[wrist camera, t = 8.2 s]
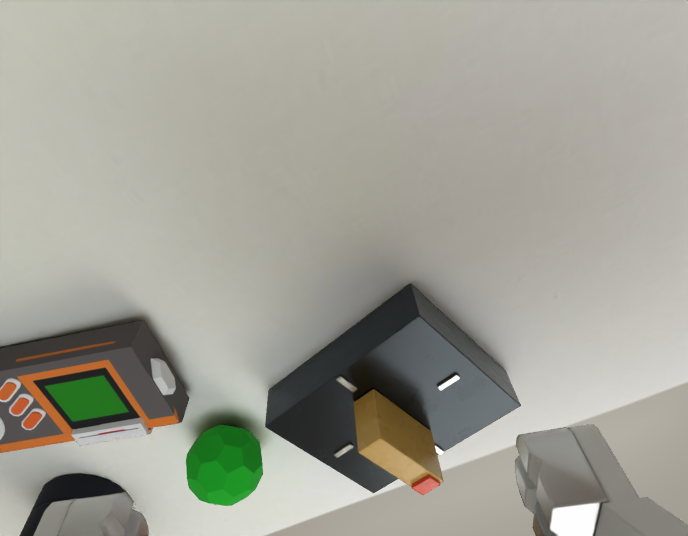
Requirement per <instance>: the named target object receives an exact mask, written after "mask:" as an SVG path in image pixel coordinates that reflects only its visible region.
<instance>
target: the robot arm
mask: <svg viewBox="0 0 688 536" xmlns="http://www.w3.org/2000/svg"><path fill="white" fill-rule="evenodd" d="M516 447H517V450H518V452H519V456H518V457H517V458H516V460H515V473H516V480H517V485H518V488H519V492H520V495H521V498H522V500H523V503H524V506H525V507H526V508H528V509H529V510H530V511H531V512H532V513H533V514H534V520H533V529H534V532H535V535H536V536H688V525H687V524H686V523H684V522H683V521H681V520H680V519H678V518H677V517H676V516H674V515H673V514H671V513H670V512H668V511H667V510H665V509H664V508H662V507H661V506H660V505H658V504H657V503H655V502H654V501H652V500H651V499H649V498H648V497H643V498H639V496H638V495H637V493H636V491H635V489H634V488H633V486H632V484H631V483H630V481H629V479H628V478H627V476H626V474H625V473H624V471H623V469H622V468H621V466H620V464H619V462H618V461H617V459H616V457H615V456H614V454H613V452H612V451H611V449H610V447H609V446H608V444H607V442H606V441H605V439H604V437H603V436H602V434H601V433H600V430H599V429H598V428H597V427H596V426H595V425H593V424H587V425H582V426H575V427H570V428H566V427H564V428H557V429H551V430H545V431H539V432H533V433H527V434H521V435H518V437H517V440H516ZM133 502H134V501H133V500H132V498H131V497H130V495H129V494H128V493H119V494H111V495H104V496H96V497H88V498H81V499H71V500H65V501H58V502H52V503H51V504H50V505H49V507H48V508H47V509H46V510H45V511H44V514H43V516H42V518H41V520H40V522H39V525H38V527H37V529H36V531H35V533H34V535H33V536H148V526H147V523H146V520H145V518H144V516H143V515H142V513H140V512H137V511H135V510H133V509H132V506H133Z"/></svg>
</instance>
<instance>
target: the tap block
mask: <svg viewBox="0 0 688 536" xmlns="http://www.w3.org/2000/svg"><path fill="white" fill-rule="evenodd" d="M372 389H375V390H376V391H377V392H379V393H380V394H381V395H383V396H384V397H385V398H387V399H388V400H390V401H391V402H392V403H394V404H395V405H396V406H398V407H399V408H400V409H402V410H403V411H404V412H406V413H407V414H408V415H410V416H411V417H412V418H414V419H415V420H417V421H418V422H419V423H421V424H422V425H423V426H425V427H426V428H427V429H429V430H430V431H431V432H432V436H433V440H434V444H435V448H436V452H437V455H439V454H440V455H441V454H442V453H444V451H446V450H447V449H449V448H451V447H452V446H454V445H456V444H457V443H459V442H461V441H462V440H464V439H466V438H468V437H469V436H471V435H473V434H474V433H476V432H478V431H479V430H481V429H483V428H484V427H486V426H488V425H489V424H491V423H493V422H494V421H496V420H498V419H500V418H501V417H503V416H505V415H506V414H508V413H510V412H511V411H513V410H515V409H516V408H518V407H520V406H521V404H520V402H519V400H518V398H517V395H516V393H515V391H514V389H513V386H512V384H511V382H510V380H509V377H508V375H507V373H506V371H505V370H504V369H503V368H502V367H501V366H500V365H499V364H497V363H496V362H495V361H494V360H493V359H492V358H491V357H490V356H489V355H488V354H487V353H486V352H484V351H483V350H482V349H481V348H480V347H479V346H478V345H477V344H476V343H475V342H474V341H473V340H471V339H470V338H469V337H468V336H467V335H466V334H465V333H464V332H463V331H462V330H461V329H459V328H458V327H457V326H456V325H455V324H454V323H453V322H452V321H451V320H450V319H449V318H448V317H446V316H445V315H444V314H443V313H442V312H441V311H440V310H439V309H438V308H437V307H436V306H435V305H433V304H432V303H431V302H430V301H429V300H428V299H427V298H426V297H425V296H424V295H423V294H421V293H420V292H419V291H418V290H417V289H416V288H415V287H414V286H413V285H412V284H409V285H407V286H406V287H405V288H403V289H402V290H401V291H399V292H398V293H397V294H395V295H394V296H393V297H392V298H390V299H389V300H388V301H386V302H385V303H384V304H382V305H381V306H380V307H378V308H377V309H376V310H374V311H373V312H372V313H370V314H369V315H368V316H366V317H365V318H364V319H362V320H361V321H360V322H358V323H357V324H356V325H354V326H353V327H352V328H350V329H349V330H348V331H347V332H345V333H344V334H343V335H341V336H340V337H339V338H337V339H336V340H335V341H333V342H332V343H331V344H329V345H328V346H327V347H325V348H324V349H323V350H321V351H320V352H319V353H317V354H316V355H315V356H313V357H312V358H311V359H309V360H308V361H307V362H305V363H304V364H303V365H302V366H300V367H299V368H298V369H296V370H295V371H294V372H292V373H291V374H290V375H288V376H287V377H286V378H284V379H283V380H282V381H280V382H279V383H278V384H276V385H275V386H274V387H272V388H271V389H270V390H269V391H268V402H267V413H266V424H265V427H266V428H268V429H269V430H271V431H273V432H274V433H276V434H277V435H279V436H281V437H282V438H284V439H286V440H287V441H289V442H291V443H292V444H294V445H296V446H297V447H299V448H300V449H302V450H304V451H305V452H307V453H309V454H310V455H312V456H314V457H315V458H317V459H318V460H320V461H322V462H323V463H325V464H327V465H328V466H330V467H332V468H333V469H335V470H336V471H338V472H340V473H341V474H343V475H345V476H346V477H348V478H350V479H351V480H353V481H354V482H356V483H358V484H359V485H361V486H363V487H364V488H366V489H368V490H369V491H371V492H372V493H375V492H377V491H378V490H380V489H382V488H383V487H385V486H387V485H388V484H390V483H392V482H393V481H395V480H397V479H398V478H397V477H395V476H394V475H392V474H391V473H389V472H388V471H386V470H385V469H383V468H381V467H380V466H378V465H377V464H375V463H374V462H372V461H371V460H369V459H368V458H366V457H364V456H363V455H361V454H360V453H359V452H358V445H357V434H356V423H355V412H354V402H355V401H356V400H358V399H359V398H361V397H362V396H364V395H365V394H367V393H368V392H370V391H371V390H372Z"/></svg>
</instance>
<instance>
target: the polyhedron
mask: <svg viewBox="0 0 688 536" xmlns="http://www.w3.org/2000/svg"><path fill="white" fill-rule="evenodd" d="M186 466H187V480H188V485H189V488H190V489H191V490H192V492H193V493H194V494H195V495H196V496H197V497H198V499H199V500H201V501H204V502H207V503H212V504H218V505H224V506H229V505H233V504H235V503H237V502H239V501H240V500H242V499H244V498H246V497H247V496H248V495H249V494H251V493H252V492H253V491H254V490H255V489H256V487H257V485H258V483H259V481H260V479H261V477H262V475H263V468H262V457H261V448H260V443H259V441H258V440H257V439H256V438H255V437H254V436H253V434H252V433H251V432H250V431H249V430H246V429H242V428H237V427H232V426H226V425H217V426H215V427H212V428H210V429H208V430H206V431H204V432H203V433H202V434H201V435H200V436H199V437H198V438H197V439H196V441H195V442H194V444H193V446H192V447H191V449H190V450H189V452H188V454H187V459H186Z"/></svg>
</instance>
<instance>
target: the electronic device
mask: <svg viewBox="0 0 688 536" xmlns="http://www.w3.org/2000/svg"><path fill="white" fill-rule="evenodd" d="M188 401H189V397H188V395H187V393H186V391H185V390H184V388H183V386H182V385H181V383H180V381H179V380H178V378H177V376H176V374H175V373H174V371H173V369H172V368H171V366H170V364H169V363H168V361H167V359H166V357H165V356H164V354H163V352H162V351H161V349H160V347H159V346H158V344H157V342H156V340H155V339H154V337H153V335H152V334H151V332H150V330H149V329H148V327H147V325H146V323H145V322H144V320H143V321H138V322H133V323H127V324H122V325H117V326H112V327H107V328H102V329H97V330H92V331H86V332H81V333H76V334H71V335H66V336H61V337H56V338H51V339H46V340H40V341H35V342H30V343H25V344H20V345H15V346H10V347H5V348H0V453H3V452H9V451H15V450H21V449H27V448H33V447H39V446H45V445H51V444H57V443H63V442H69V441H74V440H76V442H77V443H78V445H79V446H82V445H88V444H94V443H100V442H106V441H112V440H118V439H124V438H130V437H136V436H142V435H148V434H150V433H151V432H152V429H153V427H158V426H164V425H170V424H176V423H180V422H182V420H183V417H184V413H185V410H186V407H187V404H188Z"/></svg>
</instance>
